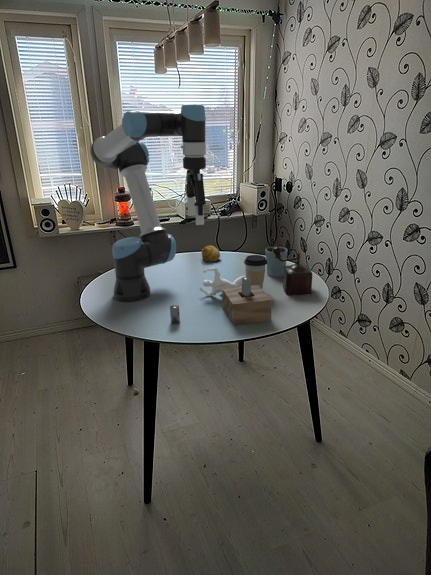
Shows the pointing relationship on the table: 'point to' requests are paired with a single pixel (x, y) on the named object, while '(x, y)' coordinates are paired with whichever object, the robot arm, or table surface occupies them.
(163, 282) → the table surface
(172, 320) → the short pin
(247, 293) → the long pin
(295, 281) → the manual coffee grinder
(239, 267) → the table surface
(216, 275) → the person figurine
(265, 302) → the pin block
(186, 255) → the table surface
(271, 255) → the light blue mug
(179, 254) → the table surface
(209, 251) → the bread roll
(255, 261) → the coffee cup
